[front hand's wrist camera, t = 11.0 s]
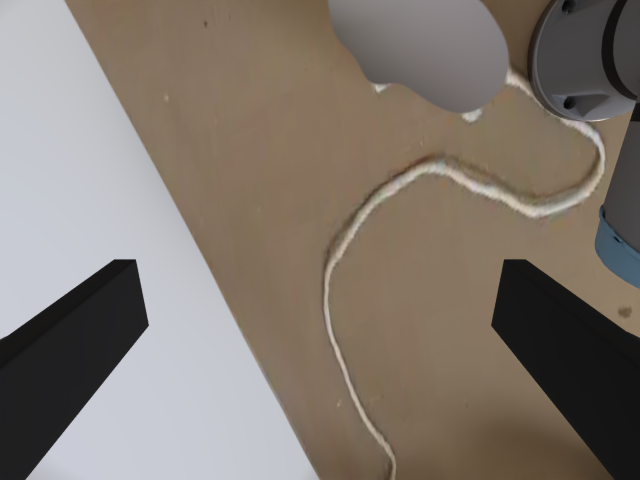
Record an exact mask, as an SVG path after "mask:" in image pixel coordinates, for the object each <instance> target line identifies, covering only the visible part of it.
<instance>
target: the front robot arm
mask: <svg viewBox="0 0 640 480" xmlns="http://www.w3.org/2000/svg"><path fill="white" fill-rule="evenodd" d="M528 75H529V80H530V84H531V87H532V89H533V92H534V94H535V95H536V97H537V99H538V100H539V102H540V103H541V104H542V105H543V106H544V107H545V108H546V109H547V110H548V111H550V112H551V113H553V114H554V115H556V116H559V117H561V118H564V119H568V120H574V121H600V120H605V119H609V118H613V117H616V116H618V115H621V114H624V113H626V112H629V111H631V110H633V113H632V116H631V120H630V122H629V125H628V129H627V132H626V135H625V138H624V141H623V144H622V148H621V151H620V154H619V157H618V160H617V163H616V167H615V170H614V173H613V176H612V179H611V182H610V185H609V189H608V192H607V195H606V198H605V201H604V204H603V205H602V206H601V207H600V210H599V217H600V222H599V226H598V230H597V234H596V238H595V250H596V253H597V254H598V256H599V258H600V259H601V261H602V263H603V264H604V265H605V266H606V267H607V268H608V269H609V270H610V271H612V272H613V273H614V274H615V275H617V276H618V277H620V278H621V279H623V280H624V281H626V282H628V283H629V284H631V285H633V286H635V287H637V288H639V289H640V0H552V1H551V2H550V3H549V4H548V6H547V7H546V9H545V10H544V12H543V13H542V15H541V17H540V19H539V21H538V23H537V25H536V27H535V29H534V32H533V35H532V38H531V42H530V46H529V52H528ZM148 326H149V324H148V319H147V314H146V308H145V303H144V298H143V293H142V288H141V283H140V278H139V273H138V268H137V263H136V260H135V259H114V260H113V261H111V262H110V263H109V264H107V265H106V266H104V267H103V268H102V269H100V270H99V271H98V272H96V273H95V274H93V275H92V276H91V277H89V278H88V279H86V280H85V281H84V282H82V283H81V284H79V285H78V286H77V287H75V288H74V289H72V290H71V291H70V292H68V293H67V294H65V295H64V296H63V297H61V298H60V299H58V300H57V301H56V302H54V303H53V304H52V305H50V306H49V307H47V308H46V309H45V310H43V311H42V312H40V313H39V314H38V315H36V316H35V317H33V318H32V319H31V320H29V321H28V322H26V323H25V324H24V325H22V326H21V327H19V328H18V329H17V330H15V331H14V332H12V333H11V334H10V335H8V336H6V337H4V338H2V339H0V480H26V478H27V477H28V476H29V475H30V473H31V472H32V471H33V470H34V468H35V467H36V466H37V465H38V463H39V462H40V461H41V459H42V458H43V457H44V456H45V455H46V453H47V452H48V451H49V450H50V448H51V447H52V446H53V445H54V443H55V442H56V441H57V439H58V438H59V437H60V436H61V435H62V433H63V432H64V431H65V430H66V428H67V427H68V426H69V425H70V423H71V422H72V421H73V420H74V418H75V417H76V416H77V415H78V413H79V412H80V411H81V410H82V408H83V407H84V406H85V405H86V403H87V402H88V401H89V400H90V398H91V397H92V396H93V395H94V393H95V392H96V391H97V390H98V388H99V387H100V386H101V385H102V383H103V382H104V381H105V380H106V378H107V377H108V376H109V375H110V373H111V372H112V371H113V370H114V368H115V367H116V366H117V365H118V363H119V362H120V361H121V360H122V358H123V357H124V356H125V355H126V353H127V352H128V351H129V350H130V348H131V347H132V346H133V345H134V343H135V342H136V341H137V340H138V338H139V337H140V336H141V335H142V333H143V332H144V331H145V330H146V329H147V327H148ZM491 326H492V327H493V329H494V330H495V331H496V332H497V334H498V335H499V336H500V337H501V339H502V340H503V341H504V342H505V344H506V345H507V346H508V347H509V348H510V350H511V351H512V352H513V353H514V355H515V356H516V357H517V358H518V360H519V361H520V362H521V363H522V365H523V366H524V367H525V368H526V370H527V371H528V372H529V373H530V375H531V376H532V377H533V378H534V380H535V381H536V382H537V383H538V385H539V386H540V387H541V388H542V390H543V391H544V392H545V393H546V395H547V396H548V397H549V398H550V400H551V401H552V402H553V403H554V405H555V406H556V407H557V408H558V410H559V411H560V412H561V413H562V415H563V416H564V417H565V418H566V420H567V421H568V422H569V423H570V425H571V426H572V427H573V428H574V430H575V431H576V432H577V433H578V435H579V436H580V437H581V438H582V440H583V441H584V442H585V443H586V445H587V446H588V447H589V448H590V450H591V451H592V452H593V453H594V455H595V456H596V457H597V458H598V460H599V461H600V462H601V463H602V465H603V466H604V467H605V468H606V470H607V471H608V472H609V473H610V475H611V476H612V477H613V478H614V480H640V338H639V337H637V336H635V335H633V334H631V333H629V332H626V331H625V330H623V329H622V328H621V327H619V326H618V325H616V324H615V323H614V322H612V321H611V320H609V319H608V318H607V317H605V316H604V315H602V314H601V313H600V312H598V311H597V310H596V309H594V308H593V307H591V306H590V305H589V304H587V303H586V302H584V301H583V300H582V299H580V298H579V297H577V296H576V295H575V294H573V293H572V292H570V291H569V290H568V289H566V288H565V287H563V286H562V285H561V284H559V283H558V282H556V281H555V280H554V279H552V278H551V277H549V276H548V275H547V274H545V273H544V272H542V271H541V270H540V269H538V268H537V267H536V266H534V265H533V264H531V263H530V262H529V261H527V260H526V259H504V263H503V268H502V273H501V278H500V283H499V288H498V293H497V298H496V303H495V308H494V313H493V319H492V324H491Z"/></svg>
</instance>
